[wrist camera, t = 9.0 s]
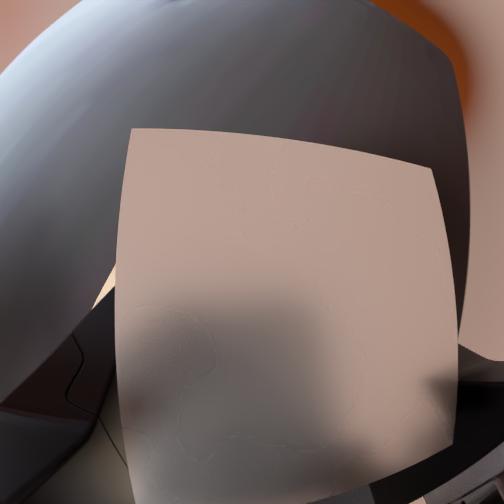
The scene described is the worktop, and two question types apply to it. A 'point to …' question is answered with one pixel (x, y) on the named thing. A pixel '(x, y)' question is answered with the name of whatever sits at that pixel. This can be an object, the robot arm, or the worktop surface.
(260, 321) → the aluminium post
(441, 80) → the worktop surface
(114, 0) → the worktop surface
